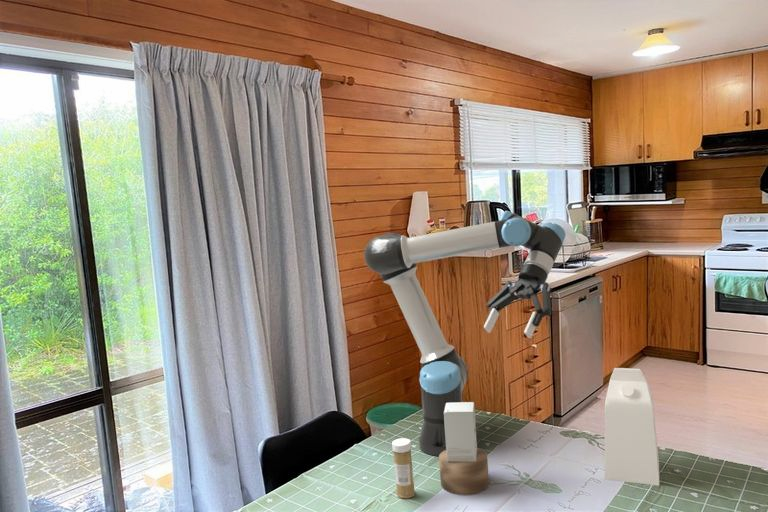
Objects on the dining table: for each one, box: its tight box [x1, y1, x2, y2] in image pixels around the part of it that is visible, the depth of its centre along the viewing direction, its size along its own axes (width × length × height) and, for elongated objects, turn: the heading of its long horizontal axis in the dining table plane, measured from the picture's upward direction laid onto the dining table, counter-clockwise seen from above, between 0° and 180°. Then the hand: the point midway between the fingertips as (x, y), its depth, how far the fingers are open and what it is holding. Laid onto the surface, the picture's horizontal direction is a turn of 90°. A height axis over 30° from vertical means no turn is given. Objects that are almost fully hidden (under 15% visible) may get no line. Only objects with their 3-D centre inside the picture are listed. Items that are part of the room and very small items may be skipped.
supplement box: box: [444, 401, 478, 462], centre depth 143 cm, size 7×7×13 cm
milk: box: [604, 367, 660, 487], centre depth 142 cm, size 12×12×26 cm
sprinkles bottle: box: [391, 438, 416, 499], centre depth 140 cm, size 5×5×13 cm
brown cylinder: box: [438, 447, 490, 496], centre depth 144 cm, size 12×12×7 cm
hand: (506, 332), depth 156 cm, fingers open, 13 cm apart
